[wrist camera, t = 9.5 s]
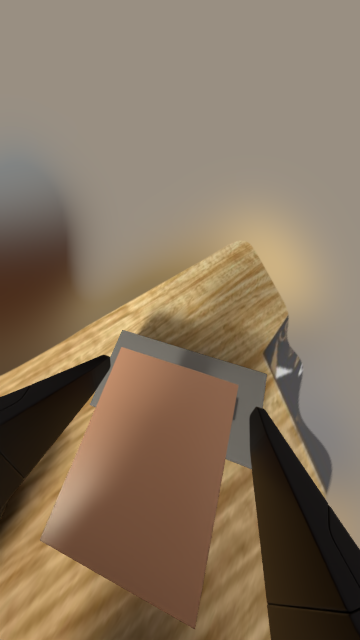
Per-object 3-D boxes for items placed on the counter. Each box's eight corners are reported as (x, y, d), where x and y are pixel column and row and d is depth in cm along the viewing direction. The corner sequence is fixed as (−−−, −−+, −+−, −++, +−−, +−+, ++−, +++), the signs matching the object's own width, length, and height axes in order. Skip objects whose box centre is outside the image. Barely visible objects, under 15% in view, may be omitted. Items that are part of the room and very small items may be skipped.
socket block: (237, 444, 19) (255, 471, 14) (111, 396, 21) (88, 405, 16) (249, 372, 21) (267, 374, 16) (135, 337, 24) (121, 329, 19)
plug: (189, 428, 14) (195, 628, 3) (149, 412, 14) (39, 540, 4) (203, 373, 15) (238, 384, 5) (166, 361, 16) (121, 347, 5)
